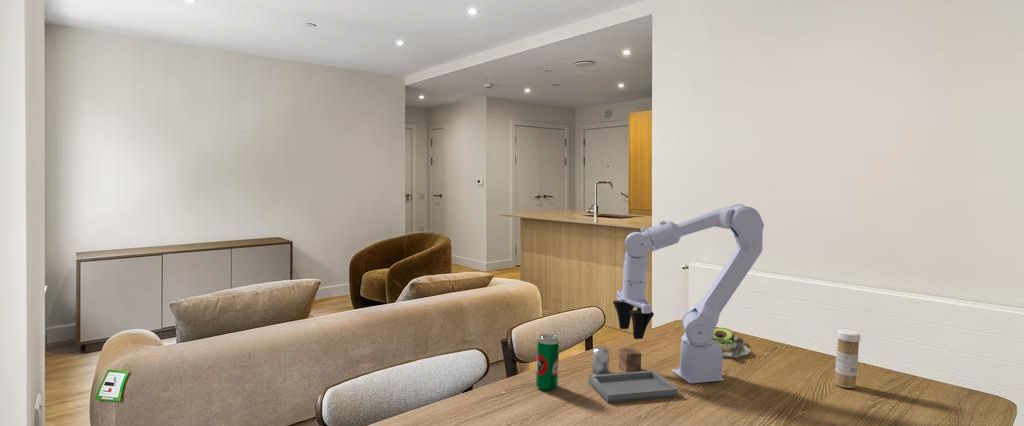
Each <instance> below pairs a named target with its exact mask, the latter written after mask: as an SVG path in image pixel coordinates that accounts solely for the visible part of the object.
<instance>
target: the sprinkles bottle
mask: <svg viewBox="0 0 1024 426" xmlns="http://www.w3.org/2000/svg"><path fill="white" fill-rule="evenodd" d="M836 338H837V347H836V357H835V366H834V367H835V369H834V371H835V373H834V375H835V376H834V380H833V383H834V384H835V386H837V385H838V386H837V387H839V386H842V387H846V388H854V389H856V388H857V385H856V383H857V374H858V364H859V363H858V362H859V345H860V342H861V333H860V332H858V331H856V330H852V329H846V328H841V329H838V330H837V337H836ZM855 387H856V388H855Z"/></svg>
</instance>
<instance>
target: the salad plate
mask: <svg viewBox="0 0 1024 426" xmlns="http://www.w3.org/2000/svg"><path fill="white" fill-rule="evenodd" d="M712 340H715V341H717V342H718V343H719V344H720V346H721V349H722V353H723V358H722V359H738V358H740V357H744V356H747V355H749V354H750V353H751V349H750V348H748V346H746V345H745V344H743V343H744V342H745V341H744V338H742V337H735V333H734V331H732V330H731V329H729V328H727V327H715V328H714V335H713V338H712Z"/></svg>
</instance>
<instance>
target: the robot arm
mask: <svg viewBox="0 0 1024 426" xmlns="http://www.w3.org/2000/svg"><path fill="white" fill-rule="evenodd" d="M658 223H659V224H657V225H654V226H651V227H648V228H645V227H642V228H640V231H639V232H638V231H634V232H630V233H629V234H628V235H627V236H626V238H625V240H624V248H625V253H624V260H623V267H622V268H623V272H622V285H621V286H622V288H621V290H617V291H616V298H617V300H613V301H612V304H613V306H614V308H615V310H616V313H617V319H618V324H619V329H620V330H629V328H630V324H631V323H632V334H633V335H632V336H633V339H634V340H643V339H644V336H645V332H646V330H647V327H648V325H649V323H650V321H651V320H652V318H653V317H654V314H655V313H654V312H653V311H652V305H651V304H650V303H649V302H648V300H647V298H646V288H647V277H648V276H647V273H648V262H647V261H648V260H647V258H648V254H649V252H650V251H651V252H655V251H658V250H662V249H664V248H667V247H670V246H673V245H676V244H678V243H679V241H680V239H681V238H682V237H683V236H687V235H690V234H693V233H697V232H700V231H703V230H707V229H710V228H714V227H715V228H722V229H727V230H730V231H731V232H732V233H733V237H734V239H735V242H736V248H735V249H734V252H733V253H732V254H731V256H730V258H729V259H728V260H727V262H726V264H725V265H724V266H723V268H722V269H721V271H720V272H719V273H718V275H717V277H716V279H715V280H714V281H713V283H712V284H711V285H710V288H709V289H708V290H707V292H706V294H704V296H703V298H702V299H701V300H700V301H699V302H697V303H695V305H694V307H693V308H692V309H691V310H689V311H687V312H686V313H685V314H683V316H682V318H681V319H682V320H681V324H682V327H683V329H684V331H685V332H684V333H683V334H682V336H681V337H680V354H679V355H680V356H679V368H673V369H672V370H671V372H673V373H674V374H675V375H677V376H678V377H680V378H681V379H682V380H684V381H685V382H686V383H688V384H699V383H709V382H710V383H711V382H720V381H724V378H723V377H722V373H723V372H722V370H723V359H724V358H723V353H722V349H721V346H720V344H719V343H718V342H717V341H715V340H712V338H713V335H714V328H716V326H717V325H718V323H719V319H720V315H721V313H722V311H723V309H724V308H725V307H726V305H727V303H728V302H729V301H730V300H731V298H732V296H733V295H734V294H735V292H736V290H738V288H739V286H740V285H741V283H742V282H743V280H744V279H745V277H746V275H748V273H749V272H750V270H751V269H752V268H753V265H754V264H755V263H756V261H757V260H758V258H759V257H760V255H762V254H761V253H762V251H763V235H764V233H763V232H764V231H763V230H764V227H765V224H764V222H763V219H762V216H761V214H760V213H759V211H758V210H757V209H755V208H753V207H751V206H747V205H745V204H740V203H736V204H733V205H731V206H724V207H721V208H716V209H712V210H711V211H708V212H705V213H702V214H700V215H697V216H695V217H692V218H690V219H687V220H684V221H681V222H679V223H675V222H673V221H670V220H668V221H665V220H661V221H660V220H659V222H658ZM634 308H636V309H634Z"/></svg>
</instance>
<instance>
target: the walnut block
mask: <svg viewBox="0 0 1024 426" xmlns="http://www.w3.org/2000/svg"><path fill="white" fill-rule="evenodd" d="M618 368H619V369H620V370H621V371H622V373H625V372H638V371H642V352H641V351H639V350H637V349H636V348H635V347H627V348H626V347H625V348H620V349H619V359H618Z"/></svg>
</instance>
